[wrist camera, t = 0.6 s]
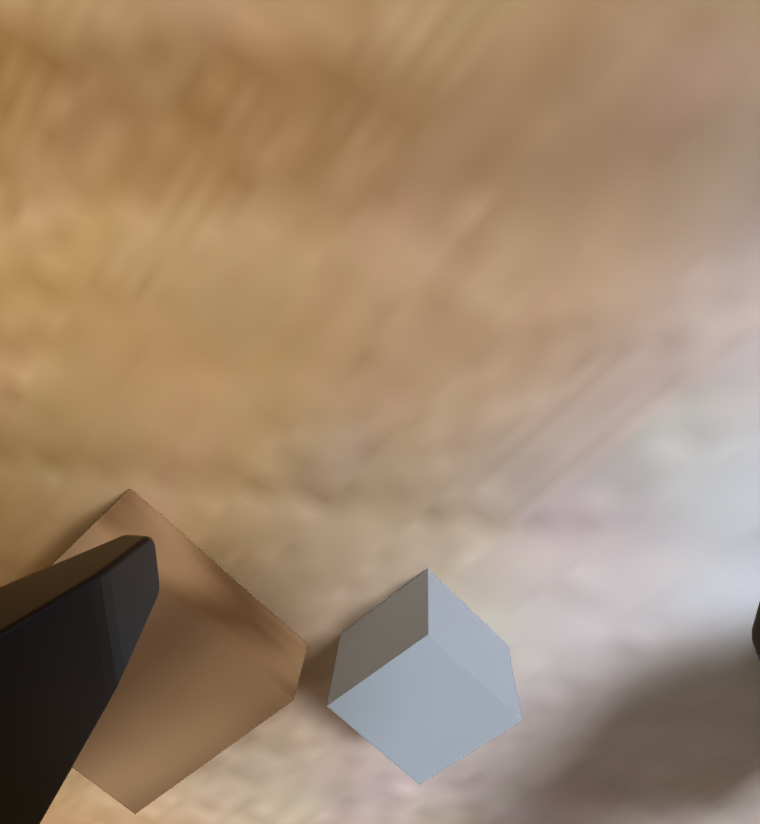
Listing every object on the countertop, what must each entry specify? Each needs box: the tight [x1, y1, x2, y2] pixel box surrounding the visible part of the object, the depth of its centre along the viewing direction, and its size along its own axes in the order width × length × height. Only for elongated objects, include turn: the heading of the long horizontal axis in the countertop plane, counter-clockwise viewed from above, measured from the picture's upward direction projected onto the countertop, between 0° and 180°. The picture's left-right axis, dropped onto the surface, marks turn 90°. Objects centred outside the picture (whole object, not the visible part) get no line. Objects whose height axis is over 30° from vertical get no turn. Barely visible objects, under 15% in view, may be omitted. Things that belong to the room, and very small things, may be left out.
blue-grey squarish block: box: [327, 569, 522, 784], centre depth 23 cm, size 5×5×4 cm
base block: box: [51, 489, 308, 814], centre depth 25 cm, size 10×10×3 cm
